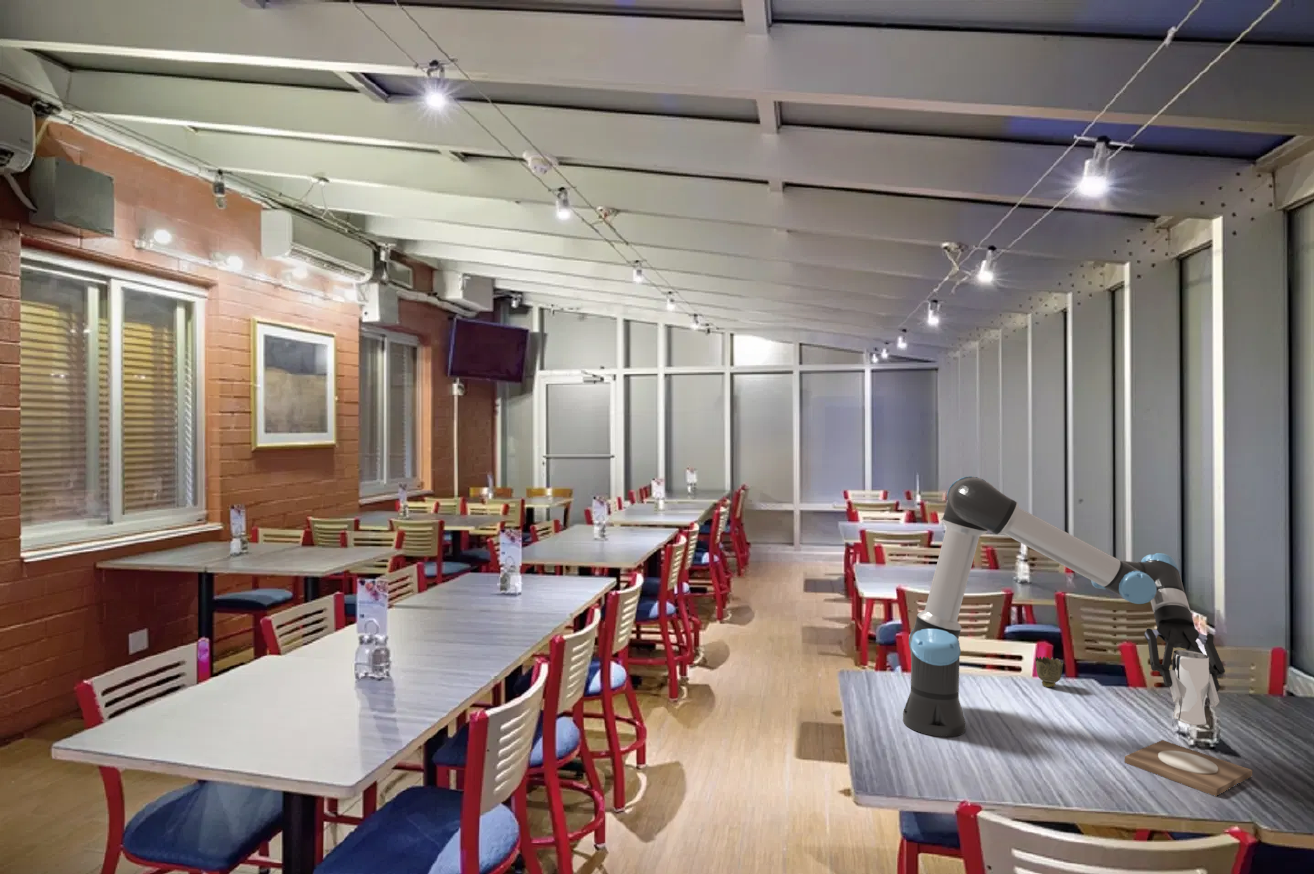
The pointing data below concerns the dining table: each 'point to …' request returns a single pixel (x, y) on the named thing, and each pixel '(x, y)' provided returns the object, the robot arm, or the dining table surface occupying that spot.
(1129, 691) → the dining table surface
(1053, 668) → the cup
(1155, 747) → the serving board
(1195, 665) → the beer glass
